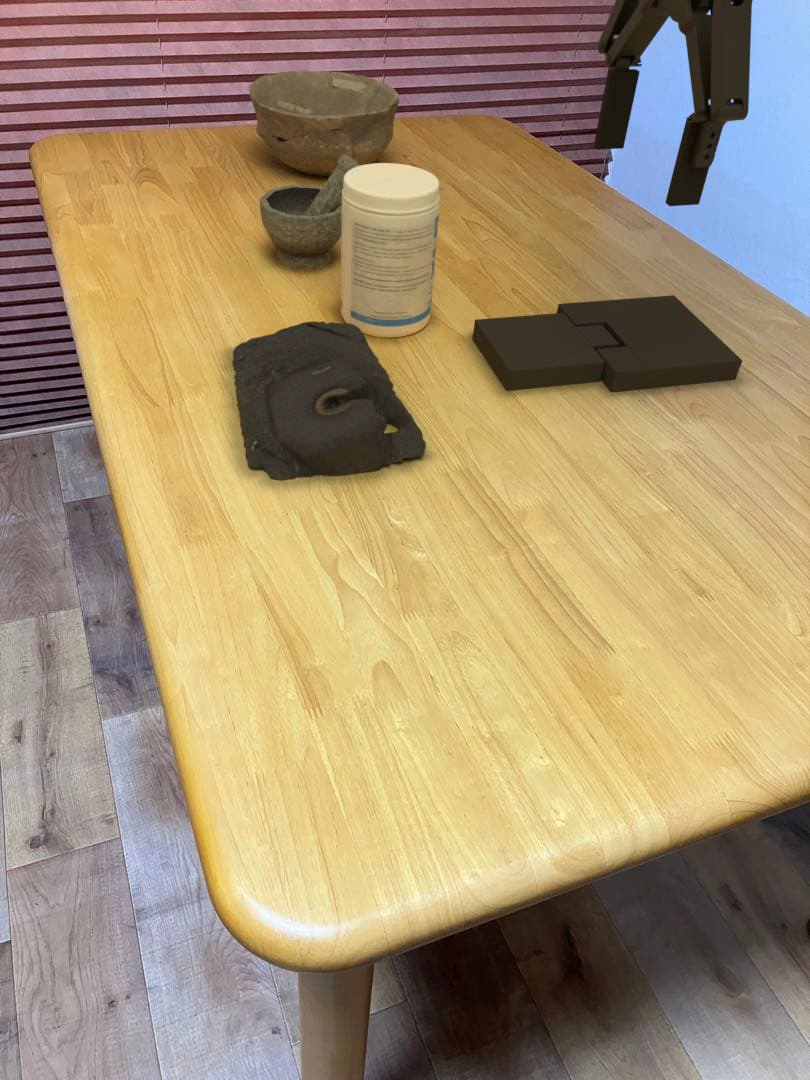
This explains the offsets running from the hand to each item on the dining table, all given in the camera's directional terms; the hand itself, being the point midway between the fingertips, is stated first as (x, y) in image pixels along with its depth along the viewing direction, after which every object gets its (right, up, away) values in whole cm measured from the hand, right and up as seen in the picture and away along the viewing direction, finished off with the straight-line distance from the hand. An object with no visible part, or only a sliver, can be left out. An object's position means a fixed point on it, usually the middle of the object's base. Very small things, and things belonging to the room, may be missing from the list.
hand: (642, 174), depth 76 cm
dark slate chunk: (-29, -20, +4) cm, 35 cm away
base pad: (+4, -12, +15) cm, 20 cm away
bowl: (-33, +22, +49) cm, 63 cm away
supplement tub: (-23, -9, +17) cm, 30 cm away
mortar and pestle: (-32, +1, +26) cm, 41 cm away
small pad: (-6, -14, +13) cm, 20 cm away
